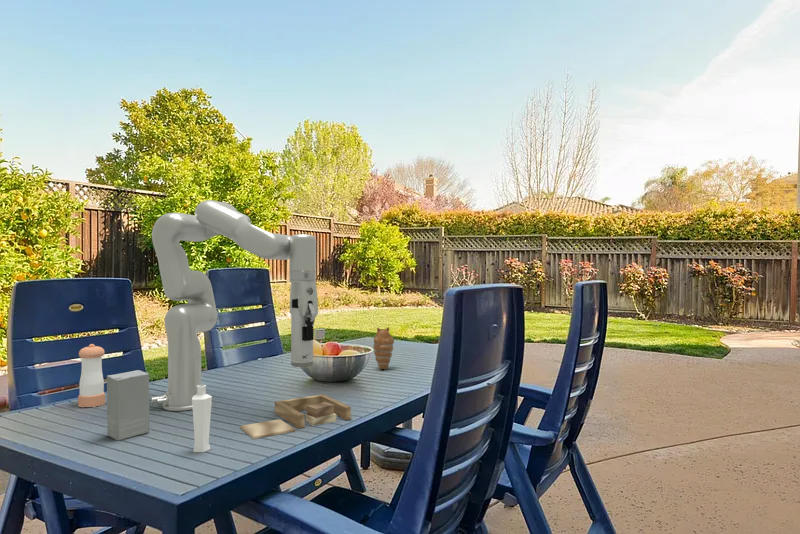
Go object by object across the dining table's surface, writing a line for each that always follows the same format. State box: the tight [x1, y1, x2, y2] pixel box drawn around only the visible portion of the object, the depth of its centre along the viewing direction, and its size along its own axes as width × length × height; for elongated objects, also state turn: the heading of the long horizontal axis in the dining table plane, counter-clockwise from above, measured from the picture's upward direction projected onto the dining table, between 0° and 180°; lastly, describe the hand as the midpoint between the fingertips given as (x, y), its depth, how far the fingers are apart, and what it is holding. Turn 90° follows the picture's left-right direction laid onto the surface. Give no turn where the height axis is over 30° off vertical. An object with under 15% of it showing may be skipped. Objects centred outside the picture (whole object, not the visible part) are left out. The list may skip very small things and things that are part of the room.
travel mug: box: [290, 299, 314, 368], centre depth 150 cm, size 6×7×20 cm
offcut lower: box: [305, 413, 337, 426], centre depth 144 cm, size 7×5×2 cm
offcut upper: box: [306, 402, 334, 418], centre depth 144 cm, size 6×4×2 cm
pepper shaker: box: [77, 343, 106, 408], centre depth 163 cm, size 7×7×19 cm
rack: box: [274, 394, 352, 430], centre depth 149 cm, size 16×18×4 cm
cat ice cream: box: [372, 326, 395, 370], centre depth 219 cm, size 9×8×18 cm
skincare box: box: [106, 369, 150, 441], centre depth 133 cm, size 8×7×16 cm
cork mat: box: [239, 418, 296, 440], centre depth 137 cm, size 11×11×1 cm
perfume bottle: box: [192, 384, 213, 453], centre depth 122 cm, size 5×4×15 cm
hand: (302, 338), depth 150 cm, fingers closed on travel mug, 6 cm apart
